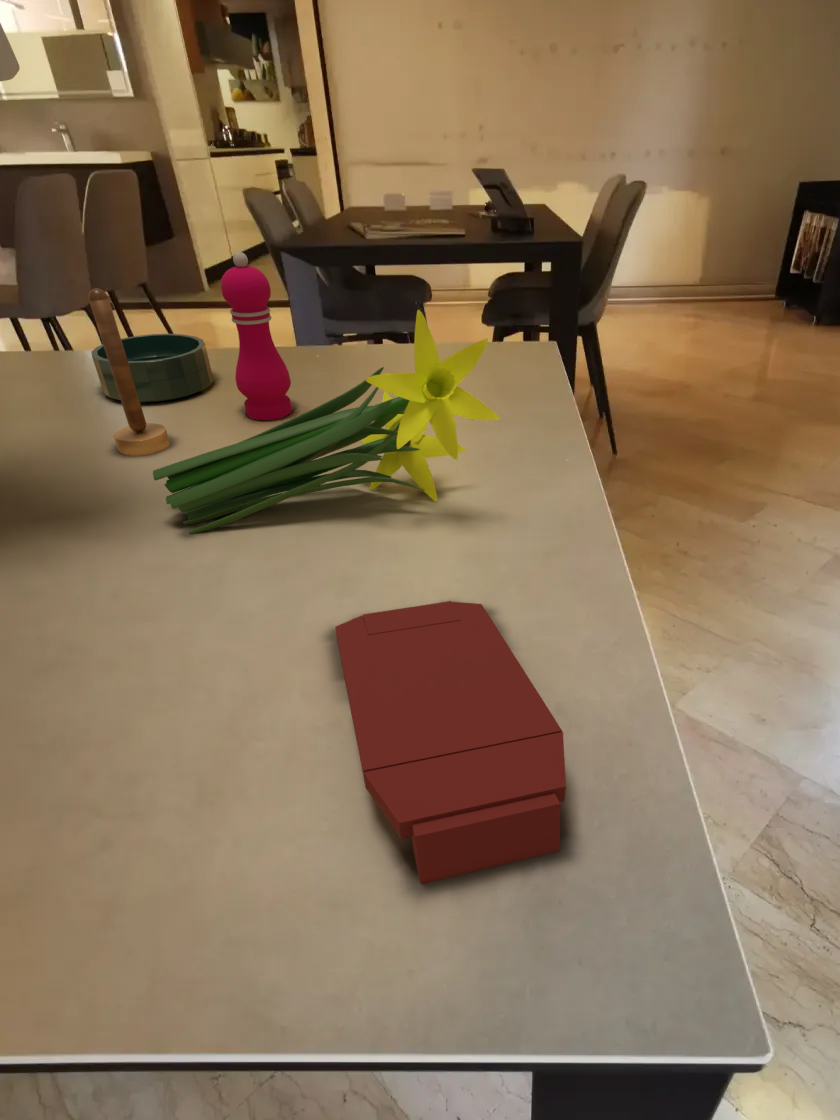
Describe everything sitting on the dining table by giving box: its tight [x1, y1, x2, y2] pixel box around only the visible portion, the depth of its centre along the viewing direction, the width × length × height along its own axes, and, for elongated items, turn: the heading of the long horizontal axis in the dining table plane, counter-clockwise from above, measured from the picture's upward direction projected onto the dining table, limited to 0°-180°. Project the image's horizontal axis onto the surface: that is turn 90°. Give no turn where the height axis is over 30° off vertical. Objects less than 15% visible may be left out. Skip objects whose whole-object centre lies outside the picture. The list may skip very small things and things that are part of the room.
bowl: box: [91, 333, 214, 403], centre depth 105 cm, size 16×16×6 cm
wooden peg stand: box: [87, 287, 171, 457], centre depth 82 cm, size 6×6×18 cm
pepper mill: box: [220, 251, 293, 421], centre depth 92 cm, size 7×7×20 cm
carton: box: [334, 600, 567, 885], centre depth 49 cm, size 12×5×25 cm
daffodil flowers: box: [152, 309, 501, 535], centre depth 71 cm, size 17×15×35 cm
